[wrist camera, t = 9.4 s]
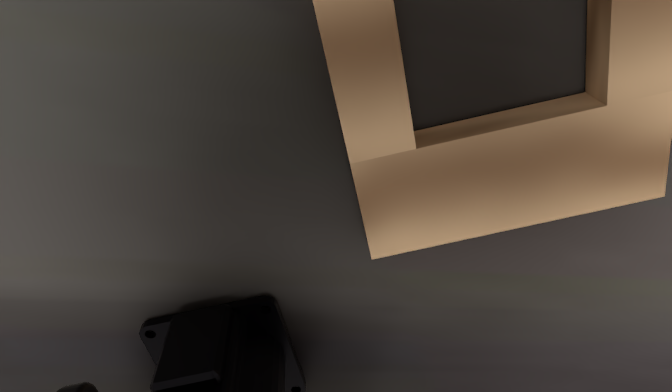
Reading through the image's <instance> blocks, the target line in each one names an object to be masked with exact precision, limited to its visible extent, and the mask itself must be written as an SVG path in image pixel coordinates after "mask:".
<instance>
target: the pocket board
mask: <svg viewBox="0 0 672 392" xmlns="http://www.w3.org/2000/svg"><path fill="white" fill-rule="evenodd" d="M313 5H314V9H315V13H316V18H317V22H318V26H319V31H320V35H321V40H322V44H323V48H324V53H325V57H326V61H327V66H328V70H329V74H330V79H331V83H332V88H333V92H334V96H335V101H336V105H337V109H338V114H339V118H340V123H341V127H342V131H343V136H344V140H345V144H346V149H347V153H348V157H349V162H350V166H351V171H352V175H353V179H354V184H355V188H356V192H357V197H358V201H359V205H360V210H361V214H362V219H363V223H364V227H365V232H366V236H367V240H368V245H369V249H370V253H371V258H372V260H373V259H377V258H382V257H386V256H391V255H396V254H400V253H405V252H410V251H414V250H419V249H423V248H428V247H433V246H437V245H442V244H447V243H451V242H456V241H460V240H465V239H470V238H474V237H479V236H484V235H488V234H493V233H497V232H502V231H507V230H511V229H516V228H521V227H525V226H530V225H534V224H539V223H544V222H548V221H553V220H558V219H562V218H567V217H571V216H576V215H581V214H585V213H590V212H595V211H599V210H604V209H608V208H613V207H618V206H622V205H627V204H632V203H636V202H641V201H645V200H650V199H655V198H659V197H664V196H665V189H666V180H667V171H668V163H669V154H670V145H671V137H672V0H588V1H587V42H586V84H585V92H584V93H579V94H575V95H571V96H566V97H562V98H557V99H553V100H549V101H544V102H540V103H536V104H531V105H527V106H522V107H518V108H514V109H509V110H505V111H501V112H496V113H492V114H487V115H483V116H479V117H474V118H470V119H465V120H461V121H457V122H452V123H448V124H444V125H439V126H435V127H430V128H426V129H422V130H417V131H414V130H413V124H412V117H411V111H410V105H409V98H408V92H407V85H406V79H405V72H404V66H403V59H402V53H401V46H400V40H399V33H398V27H397V20H396V14H395V8H394V1H393V0H313Z"/></svg>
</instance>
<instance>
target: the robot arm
mask: <svg viewBox="0 0 672 392" xmlns="http://www.w3.org/2000/svg"><path fill="white" fill-rule="evenodd" d="M262 306H269V308H263V307H262ZM148 330H152V331H154V332H150V331H148ZM139 335H140V337H141V339H142V341H143V343H144V345H145V346H146V348H147V350H148V352H149V353H150V355H151V357H152V359H153V361H154V362H155V364H156V369H155V372H154V375H153V379H152V382H151V385H150V389H151V392H305V391H306V382H305V379H304V376H303V373H302V371H301V368H300V365H299V362H298V359H297V357H296V354H295V351H294V348H293V346H292V343H291V340H290V337H289V335H288V332H287V329H286V326H285V324H284V321H283V318H282V315H281V313H280V310H279V307H278V304H277V302H276V300H275V299H274V298H273V297H271V296H260V297H255V298H251V299H246V300H241V301H237V302H232V303H227V304H223V305H218V306H213V307H209V308H204V309H199V310H195V311H190V312H185V313H181V314H176V315H171V316H167V317H162V318H157V319H153V320H148V321H146V322H144V323H143V324H142V327H141V329H140V332H139ZM294 386H298V387H294ZM57 392H98V390H97V389H96V387H95V386H94V385H93V384H91V383H89V382H83V383H78V384H74V385H69V386H65V387H63V388H61V389H59V390H58V391H57Z"/></svg>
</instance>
